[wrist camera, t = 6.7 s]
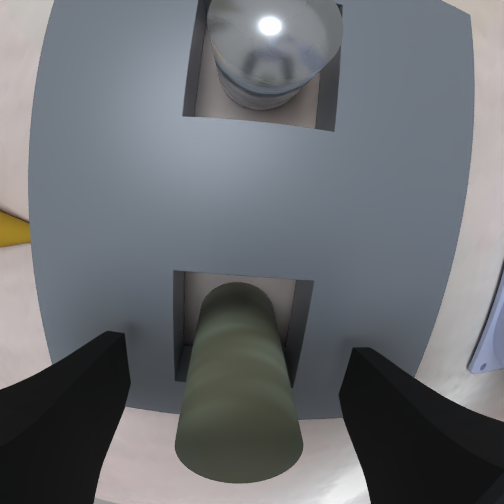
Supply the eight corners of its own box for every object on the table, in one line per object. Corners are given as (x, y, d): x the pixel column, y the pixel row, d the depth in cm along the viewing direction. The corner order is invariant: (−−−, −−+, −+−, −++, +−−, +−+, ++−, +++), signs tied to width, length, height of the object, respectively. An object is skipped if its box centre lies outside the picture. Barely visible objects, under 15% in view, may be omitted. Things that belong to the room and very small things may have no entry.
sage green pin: (279, 286, 13) (317, 412, 6) (267, 348, 14) (289, 483, 7) (202, 278, 13) (172, 404, 6) (198, 342, 14) (176, 477, 7)
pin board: (438, 30, 10) (470, 14, 7) (380, 379, 15) (398, 411, 12) (89, -9, 9) (65, -33, 6) (80, 360, 14) (60, 392, 11)
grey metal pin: (304, 41, 10) (344, -18, 5) (298, 114, 11) (339, 90, 6) (223, 32, 10) (216, -36, 5) (214, 106, 11) (198, 73, 6)
